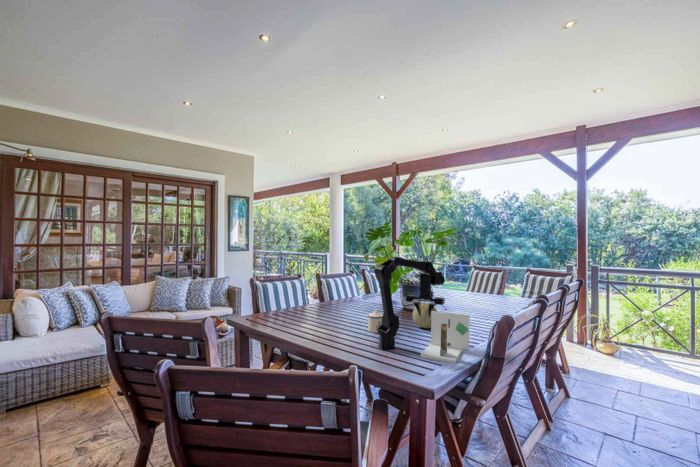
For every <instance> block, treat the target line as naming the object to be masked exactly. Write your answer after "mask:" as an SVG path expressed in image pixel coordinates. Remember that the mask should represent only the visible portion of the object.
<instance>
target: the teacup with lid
mask: <svg viewBox="0 0 700 467" xmlns="http://www.w3.org/2000/svg"><path fill="white" fill-rule="evenodd" d="M383 314H384V313H380V312H379V311H378V309H375V310H374V311H373V312H371V313H369V314H368V315H367V317H368V319H367V324H368V325H367V331H368V332H369V333H371V334H379V333H378V330H377V329H378V327H379V326H380V325H381V324H382V317H383Z"/></svg>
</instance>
